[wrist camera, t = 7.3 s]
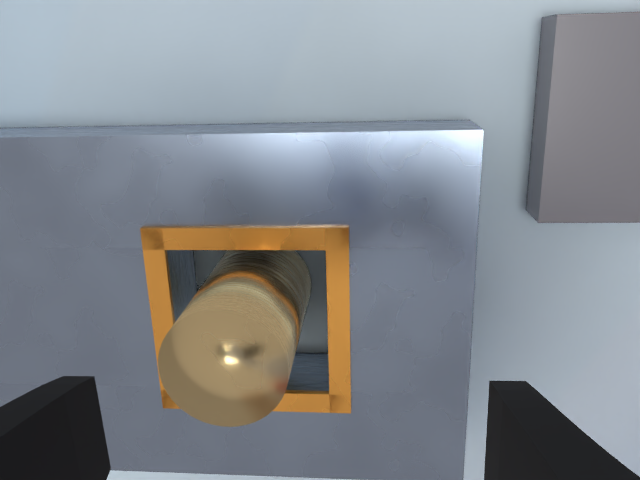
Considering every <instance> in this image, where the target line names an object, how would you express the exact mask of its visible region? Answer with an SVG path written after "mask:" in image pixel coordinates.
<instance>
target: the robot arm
mask: <svg viewBox="0 0 640 480" xmlns="http://www.w3.org/2000/svg"><path fill="white" fill-rule="evenodd" d="M110 469H111V466H110V460H109V454H108V449H107V443H106V438H105V432H104V427H103V421H102V415H101V410H100V404H99V399H98V393H97V388H96V382H95V377H94V376H62V377H60V378H57V379H55V380H52V381H50V382H48V383H46V384H44V385H41V386H39V387H37V388H35V389H33V390H31V391H29V392H27V393H25V394H24V395H22V396H20V397H18V398H16V399H14V400H12V401H10V402H8V403H6V404H5V405H3V406H1V407H0V480H106V479H107V477H108V474H109V472H110ZM484 480H640V477H639V476H637V475H636V474H635V473H633V472H632V471H631V470H629V469H628V468H627V467H626V466H624V465H623V464H622V463H621V462H619V461H618V460H617V459H615V458H614V457H613V456H612V455H610V454H609V453H608V452H607V451H606V450H604V449H603V448H602V447H601V446H599V445H598V444H597V443H596V442H595V441H594V440H592V439H591V438H590V437H589V436H588V435H586V434H585V433H584V432H583V431H582V430H581V429H579V428H578V427H577V426H576V425H575V424H574V423H572V422H571V421H570V420H569V419H568V418H567V417H566V416H565V415H563V414H562V413H561V412H560V411H559V410H558V409H557V408H556V407H554V406H553V405H552V404H551V403H550V402H549V401H548V400H547V399H546V398H544V397H543V396H542V395H541V394H540V393H539V392H538V391H537V390H535V389H534V388H533V387H532V386H531V385H530V384H528V383H527V382H526V381H490V383H489V401H488V419H487V437H486V456H485V474H484Z"/></svg>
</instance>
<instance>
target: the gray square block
mask: <svg viewBox="0 0 640 480" xmlns="http://www.w3.org/2000/svg"><path fill="white" fill-rule="evenodd" d="M526 211H527V212H528V213H529V214H530V215H531V216H532V217H533V218H534V219H535V220H536V221H537V222H538V223H640V12H621V13H591V14H560V15H553V16H548V17H543V18H542V27H541V39H540V51H539V62H538V74H537V86H536V98H535V110H534V122H533V133H532V145H531V157H530V169H529V181H528V193H527V205H526Z"/></svg>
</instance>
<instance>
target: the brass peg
mask: <svg viewBox="0 0 640 480" xmlns="http://www.w3.org/2000/svg"><path fill="white" fill-rule="evenodd" d="M310 293H311V278H310V274H309V270H308V268H307V266H306V264H305V262H304V261H303V259H302V258H301V257H300V256H299V254H298V253H297V252H296V251H294V250H228V251H227V252H226V253H225V254H224V256H223V257H222V258H221V260H220V261H219V262H218V264H217V265H216V267H215V268H214V269H213V271H212V272H211V273H210V275H209V276H208V278H207V279H206V280H205V282H204V283H203V285H202V286H201V287H200V289H199V290H198V291H197V293H196V294H195V296H194V297H193V298H192V300H191V301H190V302H189V304H188V305H187V307H186V308H185V309H184V311H183V312H182V314H181V315H180V316H179V318H178V319H177V320H176V322H175V323H174V325H173V326H172V327H171V329H170V330H169V331H168V333H167V334H166V336H165V338H164V339H163V341H162V344H161V347H160V350H159V355H158V370H159V375H160V379H161V381H162V384H163V386H164V388H165V390H166V392H167V394H168V395H169V396H170V398H171V399H172V400H173V401H174V402H175V404H176V405H177V406H178V407H180V408H181V409H182V410H183V411H184V412H186V413H187V414H189V415H190V416H192V417H194V418H196V419H198V420H200V421H202V422H205V423H208V424H212V425H216V426H223V427H236V426H243V425H248V424H251V423H254V422H256V421H258V420H261V419H262V418H264V417H265V416H267V415H268V414H269V413H271V412H272V411H273V410H274V409H275V408H276V407H277V406H278V404H279V403H280V401H281V400H282V398H283V396H284V394H285V391H286V388H287V384H288V380H289V377H290V373H291V369H292V365H293V361H294V357H295V353H296V349H297V345H298V341H299V337H300V333H301V329H302V325H303V321H304V317H305V313H306V309H307V305H308V302H309V298H310Z"/></svg>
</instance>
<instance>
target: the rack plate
mask: <svg viewBox="0 0 640 480" xmlns="http://www.w3.org/2000/svg"><path fill="white" fill-rule="evenodd" d="M483 134H484V130H483V129H482V128H480V127H479V126H478V125H476V124H475V123H473V122H472V121H470V120H432V121H375V122H319V123H263V124H206V125H150V126H94V127H38V128H0V407H1V406H3V405H5V404H6V403H8V402H10V401H12V400H14V399H16V398H18V397H20V396H22V395H24V394H25V393H27V392H29V391H31V390H33V389H35V388H37V387H39V386H41V385H44V384H46V383H48V382H50V381H52V380H55V379H57V378H60V377H62V376H94V377H95V382H96V388H97V393H98V399H99V404H100V410H101V415H102V421H103V427H104V432H105V438H106V443H107V449H108V454H109V460H110V466H111V469H110V470H120V471H147V472H174V473H201V474H228V475H255V476H282V477H309V478H336V479H363V480H463V474H464V457H465V440H466V423H467V406H468V389H469V372H470V355H471V338H472V321H473V304H474V287H475V270H476V253H477V236H478V219H479V202H480V185H481V168H482V151H483ZM193 250H326V281H327V320H328V354H313V353H295V357H294V361H293V365H292V369H291V373H290V377H289V380H288V384H287V388H286V391H285V394H284V396H283V398H282V400H281V401H280V403H279V404H278V406H277V407H276V408H275V409H274V410H273V411H272V412H271V413H269V414H268V415H267V416H265V417H264V418H262V419H261V420H258V421H256V422H254V423H251V424H248V425H243V426H236V427H223V426H216V425H212V424H208V423H205V422H202V421H200V420H198V419H196V418H194V417H192V416H190V415H189V414H187V413H186V412H184V411H183V410H182V409H181V408H180V407H178V406H177V405H176V404H175V402H174V401H173V400H172V399H171V398H170V396H169V395H168V394H167V392H166V390H165V388H164V386H163V384H162V381H161V379H160V375H159V370H158V355H159V350H160V347H161V344H162V341H163V339H164V338H165V336H166V334H167V333H168V331H169V330H170V329H171V327H172V326H173V325H174V323H175V322H176V320H177V319H178V318H179V316H180V315H181V314H182V312H183V311H184V309H185V308H186V307H187V305H188V304H189V302H190V301H191V300H192V298H193V297H194V296H195V294H196V293H197V286H196V276H195V266H194V256H193Z"/></svg>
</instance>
